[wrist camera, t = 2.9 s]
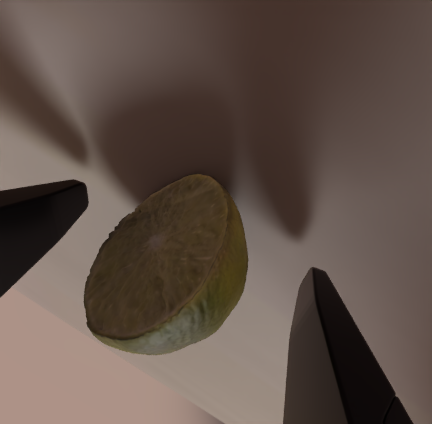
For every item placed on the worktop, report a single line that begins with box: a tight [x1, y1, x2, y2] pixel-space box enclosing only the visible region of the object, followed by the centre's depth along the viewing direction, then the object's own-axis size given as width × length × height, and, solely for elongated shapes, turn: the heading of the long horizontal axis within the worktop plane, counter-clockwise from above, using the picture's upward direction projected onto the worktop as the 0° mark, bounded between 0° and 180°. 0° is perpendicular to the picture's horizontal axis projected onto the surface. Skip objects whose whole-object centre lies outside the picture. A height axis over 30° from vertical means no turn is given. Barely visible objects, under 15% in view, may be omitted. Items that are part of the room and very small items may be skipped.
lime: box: [84, 174, 248, 355], centre depth 7 cm, size 4×5×5 cm
